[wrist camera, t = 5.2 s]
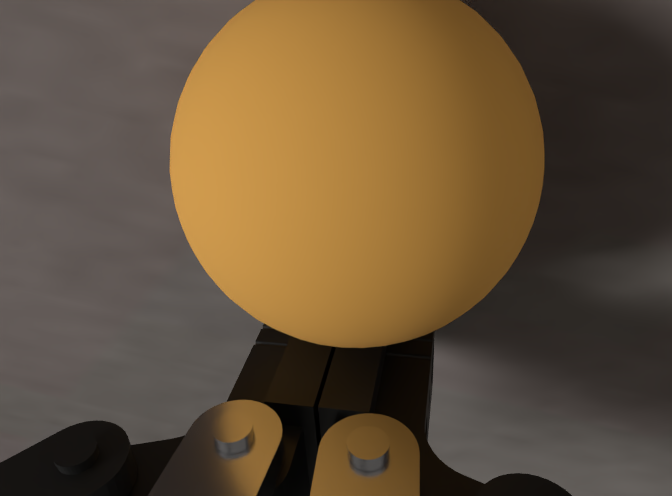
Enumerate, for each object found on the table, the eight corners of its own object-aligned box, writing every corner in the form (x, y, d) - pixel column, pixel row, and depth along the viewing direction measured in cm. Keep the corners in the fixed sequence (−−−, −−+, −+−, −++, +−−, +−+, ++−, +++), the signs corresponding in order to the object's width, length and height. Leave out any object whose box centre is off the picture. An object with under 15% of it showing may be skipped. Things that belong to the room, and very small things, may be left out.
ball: (260, 176, 12) (191, -87, 9) (513, 183, 11) (559, -107, 8) (182, 398, 9) (19, 130, 5) (527, 432, 8) (614, 139, 5)
